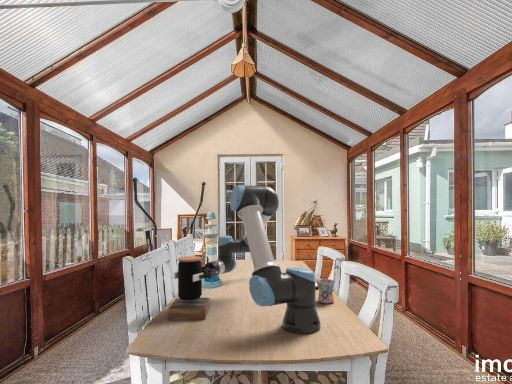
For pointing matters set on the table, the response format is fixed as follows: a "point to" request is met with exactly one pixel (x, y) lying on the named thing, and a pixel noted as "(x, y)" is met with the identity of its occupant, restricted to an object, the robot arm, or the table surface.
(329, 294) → the mug
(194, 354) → the table surface
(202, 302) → the walnut stand
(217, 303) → the table surface
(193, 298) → the coffee jar
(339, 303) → the table surface
